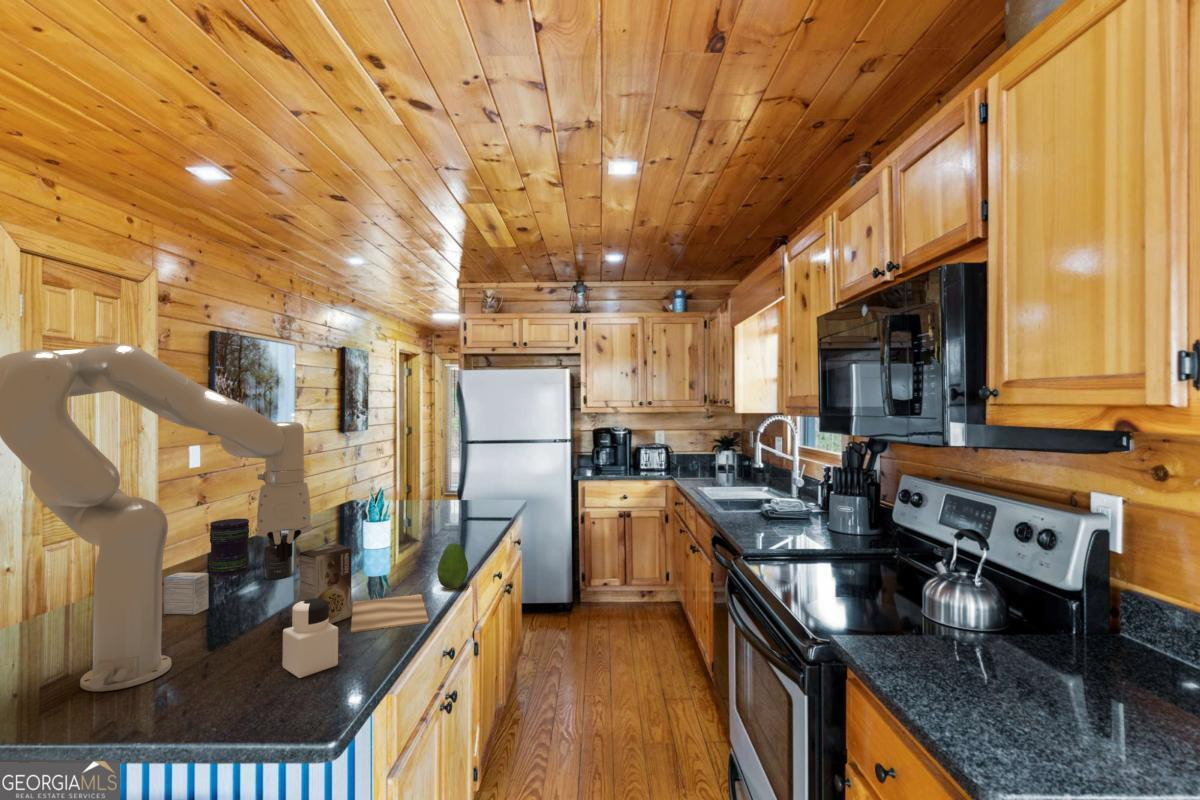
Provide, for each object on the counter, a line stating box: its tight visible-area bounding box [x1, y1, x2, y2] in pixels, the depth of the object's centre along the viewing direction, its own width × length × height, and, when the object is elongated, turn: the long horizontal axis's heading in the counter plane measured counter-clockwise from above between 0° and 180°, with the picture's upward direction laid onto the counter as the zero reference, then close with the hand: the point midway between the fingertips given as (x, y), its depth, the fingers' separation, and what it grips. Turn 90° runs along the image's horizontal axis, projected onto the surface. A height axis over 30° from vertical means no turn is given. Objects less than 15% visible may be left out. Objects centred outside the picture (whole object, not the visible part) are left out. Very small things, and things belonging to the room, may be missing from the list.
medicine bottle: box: [282, 598, 339, 679], centre depth 107 cm, size 7×7×12 cm
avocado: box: [436, 542, 469, 590], centre depth 155 cm, size 8×8×12 cm
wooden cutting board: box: [350, 593, 429, 633], centre depth 136 cm, size 20×16×1 cm
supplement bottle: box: [264, 532, 293, 580], centre depth 166 cm, size 7×7×12 cm
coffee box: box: [299, 543, 353, 625], centre depth 131 cm, size 9×6×16 cm
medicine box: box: [163, 572, 210, 616], centre depth 137 cm, size 8×4×9 cm, turn 84°
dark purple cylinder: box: [208, 518, 250, 578], centre depth 170 cm, size 10×10×15 cm
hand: (284, 560), depth 128 cm, fingers closed
